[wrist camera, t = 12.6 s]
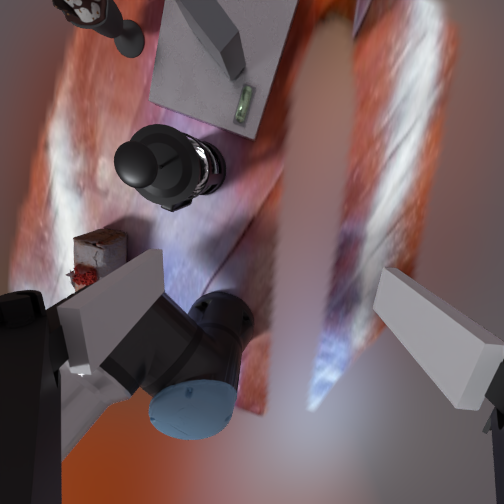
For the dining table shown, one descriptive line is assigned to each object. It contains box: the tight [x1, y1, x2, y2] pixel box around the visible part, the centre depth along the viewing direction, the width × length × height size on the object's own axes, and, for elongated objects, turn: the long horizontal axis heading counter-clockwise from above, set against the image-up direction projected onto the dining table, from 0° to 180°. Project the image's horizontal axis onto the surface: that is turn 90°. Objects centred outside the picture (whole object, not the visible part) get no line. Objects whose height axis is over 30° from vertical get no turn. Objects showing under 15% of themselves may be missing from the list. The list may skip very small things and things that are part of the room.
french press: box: [114, 124, 226, 212], centre depth 33 cm, size 12×9×23 cm
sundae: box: [52, 0, 144, 58], centre depth 31 cm, size 7×7×15 cm
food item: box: [66, 229, 127, 291], centre depth 46 cm, size 14×8×10 cm, turn 168°
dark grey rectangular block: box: [175, 0, 246, 81], centre depth 30 cm, size 14×3×9 cm, turn 41°
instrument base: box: [149, 0, 299, 142], centre depth 35 cm, size 20×18×5 cm
